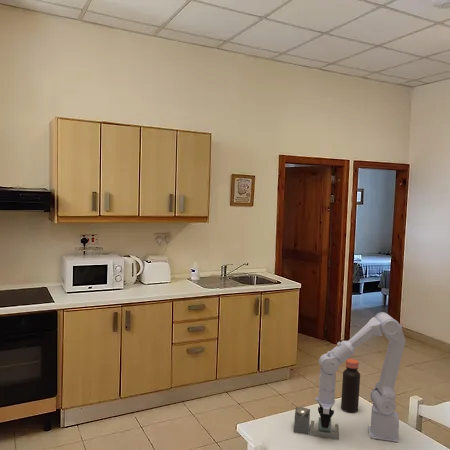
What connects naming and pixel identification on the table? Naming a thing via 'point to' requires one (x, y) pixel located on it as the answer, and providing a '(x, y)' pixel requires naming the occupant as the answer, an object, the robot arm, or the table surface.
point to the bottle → (350, 387)
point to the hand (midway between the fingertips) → (324, 424)
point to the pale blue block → (321, 425)
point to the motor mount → (303, 425)
